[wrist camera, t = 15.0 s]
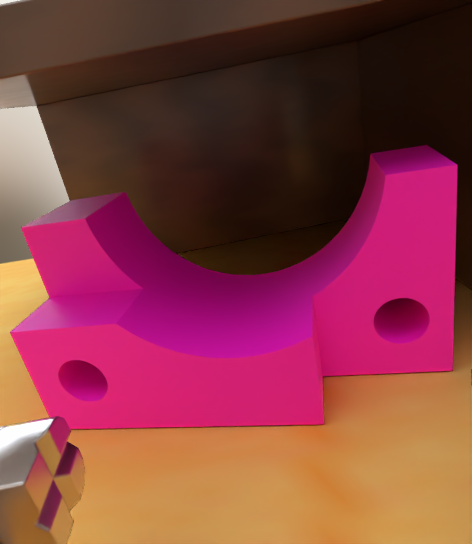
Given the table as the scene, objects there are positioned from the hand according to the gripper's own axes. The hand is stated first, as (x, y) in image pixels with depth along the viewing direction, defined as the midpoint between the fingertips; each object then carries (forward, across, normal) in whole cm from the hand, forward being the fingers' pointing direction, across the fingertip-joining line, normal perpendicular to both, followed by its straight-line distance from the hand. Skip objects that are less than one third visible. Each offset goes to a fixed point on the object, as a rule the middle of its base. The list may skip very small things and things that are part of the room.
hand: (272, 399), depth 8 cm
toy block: (+8, 0, +5) cm, 10 cm away
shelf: (+15, 0, +5) cm, 16 cm away
